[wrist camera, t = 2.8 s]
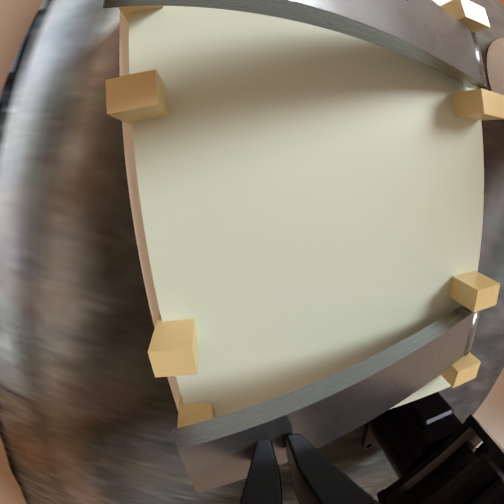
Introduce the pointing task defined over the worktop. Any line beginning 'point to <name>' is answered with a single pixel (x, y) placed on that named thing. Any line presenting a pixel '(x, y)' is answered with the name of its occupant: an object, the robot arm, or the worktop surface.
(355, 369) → the strap
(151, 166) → the storage box
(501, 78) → the cup
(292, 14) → the strap
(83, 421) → the worktop surface
